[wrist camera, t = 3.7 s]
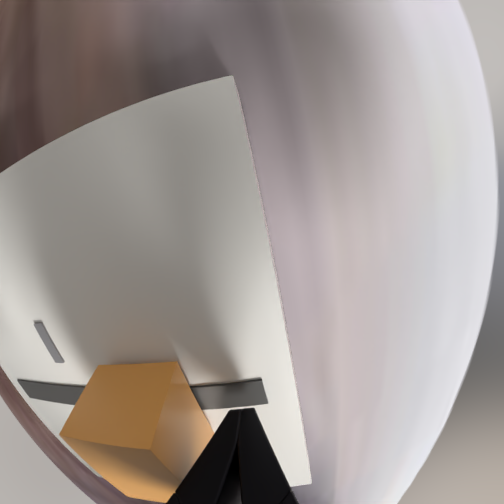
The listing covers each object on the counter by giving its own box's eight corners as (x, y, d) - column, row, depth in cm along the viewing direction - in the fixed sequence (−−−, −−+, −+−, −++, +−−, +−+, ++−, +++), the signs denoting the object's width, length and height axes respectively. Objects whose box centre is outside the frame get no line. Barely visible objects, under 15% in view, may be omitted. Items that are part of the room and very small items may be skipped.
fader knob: (215, 434, 9) (206, 505, 6) (146, 433, 10) (127, 496, 7) (177, 361, 8) (150, 449, 5) (98, 364, 8) (58, 434, 5)
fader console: (307, 449, 14) (312, 485, 12) (107, 450, 15) (97, 477, 13) (238, 93, 8) (232, 73, 6) (-29, 208, 9) (-63, 223, 7)
